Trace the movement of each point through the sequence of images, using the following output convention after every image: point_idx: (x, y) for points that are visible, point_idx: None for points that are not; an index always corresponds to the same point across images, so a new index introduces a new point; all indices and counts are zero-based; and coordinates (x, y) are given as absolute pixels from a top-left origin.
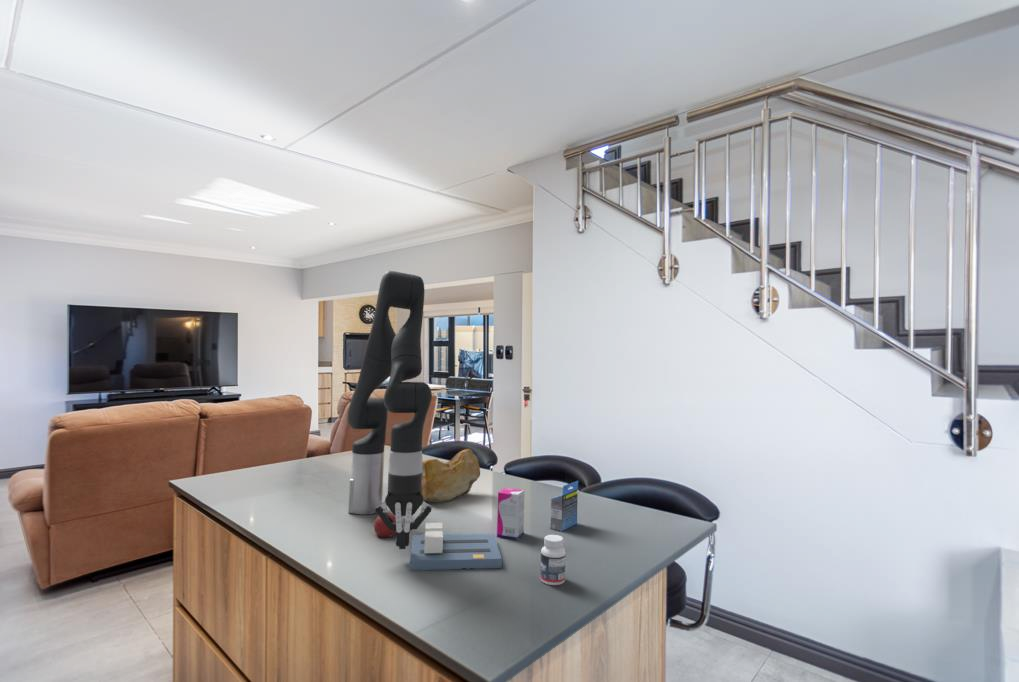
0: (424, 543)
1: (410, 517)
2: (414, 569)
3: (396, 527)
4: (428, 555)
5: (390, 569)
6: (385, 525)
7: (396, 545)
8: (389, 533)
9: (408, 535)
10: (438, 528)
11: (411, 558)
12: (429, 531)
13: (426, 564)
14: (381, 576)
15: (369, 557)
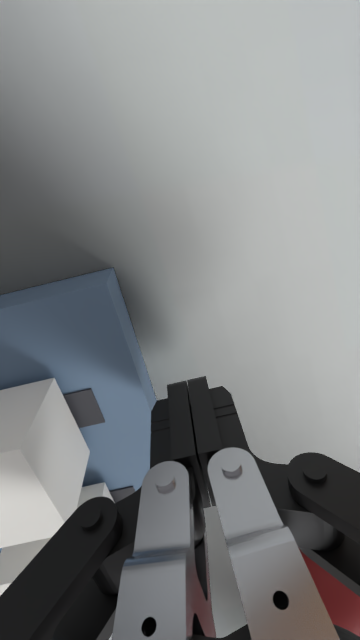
0: (115, 490)
1: (118, 624)
2: (87, 275)
3: (261, 481)
4: (32, 372)
5: (214, 262)
6: (335, 584)
7: (225, 389)
8: (302, 552)
9: (155, 453)
10: (11, 581)
11: (110, 317)
12: (42, 537)
13: (17, 297)
14: (238, 162)
15: (343, 370)
